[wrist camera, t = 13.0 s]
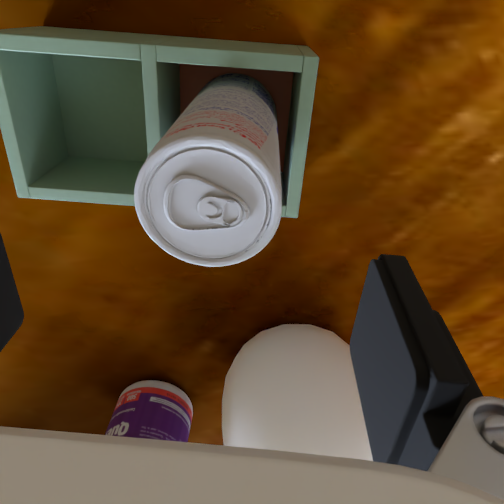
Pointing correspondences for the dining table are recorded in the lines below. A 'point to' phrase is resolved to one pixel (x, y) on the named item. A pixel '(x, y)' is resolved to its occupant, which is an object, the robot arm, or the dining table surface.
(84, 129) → the box
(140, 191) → the beverage can
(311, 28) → the dining table surface
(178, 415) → the pill bottle
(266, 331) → the white vase
